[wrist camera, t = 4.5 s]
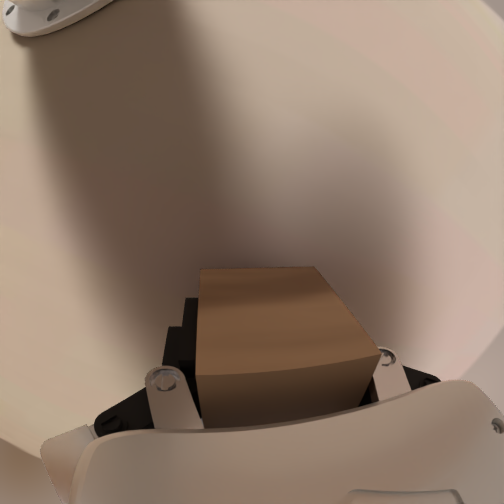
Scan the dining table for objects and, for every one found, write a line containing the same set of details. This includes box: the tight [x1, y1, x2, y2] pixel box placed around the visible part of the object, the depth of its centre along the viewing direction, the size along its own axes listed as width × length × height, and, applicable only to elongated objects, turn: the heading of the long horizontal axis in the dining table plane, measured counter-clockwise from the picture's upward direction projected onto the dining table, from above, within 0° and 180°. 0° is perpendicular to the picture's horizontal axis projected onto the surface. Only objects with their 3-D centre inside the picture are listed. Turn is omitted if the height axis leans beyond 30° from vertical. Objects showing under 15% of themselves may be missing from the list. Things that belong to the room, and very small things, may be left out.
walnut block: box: [195, 266, 382, 429], centre depth 10 cm, size 5×5×6 cm
